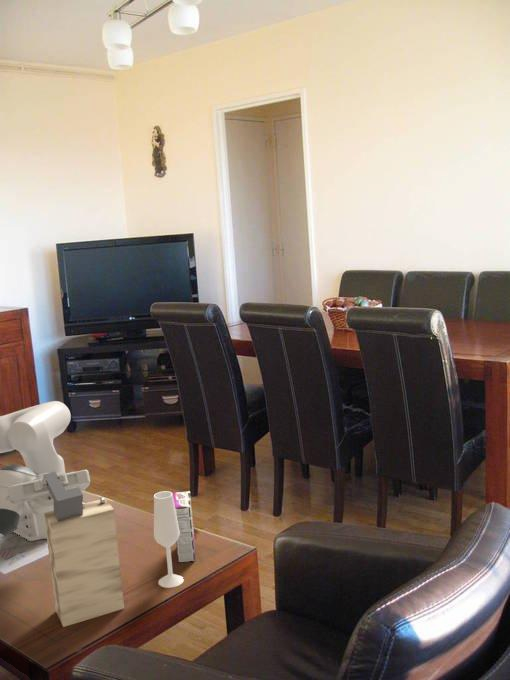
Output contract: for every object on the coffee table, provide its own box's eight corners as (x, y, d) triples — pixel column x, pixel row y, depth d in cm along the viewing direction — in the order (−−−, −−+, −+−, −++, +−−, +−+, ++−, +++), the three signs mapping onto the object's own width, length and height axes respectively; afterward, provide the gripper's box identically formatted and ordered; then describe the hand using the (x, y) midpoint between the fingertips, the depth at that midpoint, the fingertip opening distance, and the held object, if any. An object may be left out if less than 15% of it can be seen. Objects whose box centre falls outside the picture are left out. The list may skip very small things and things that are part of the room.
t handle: (37, 482, 184) (36, 462, 182) (61, 476, 187) (61, 457, 185) (57, 521, 172) (57, 501, 170) (82, 514, 175) (82, 494, 173)
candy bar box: (177, 545, 214) (173, 491, 211) (195, 543, 214) (190, 490, 211) (177, 563, 203) (172, 507, 200) (195, 562, 203) (190, 506, 200)
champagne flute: (174, 589, 190) (166, 501, 185) (153, 584, 193) (144, 497, 188) (188, 577, 195) (181, 491, 191) (168, 572, 199) (160, 488, 194)
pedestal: (55, 611, 183) (43, 508, 178) (115, 594, 189) (104, 493, 184) (63, 627, 176) (50, 520, 171) (124, 608, 182) (113, 504, 177)
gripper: (3, 488, 191) (6, 477, 179) (81, 471, 200) (90, 459, 188) (7, 512, 189) (11, 502, 177) (86, 493, 198) (95, 483, 186)
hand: (52, 480), depth 183 cm, fingers closed on t handle, 3 cm apart
